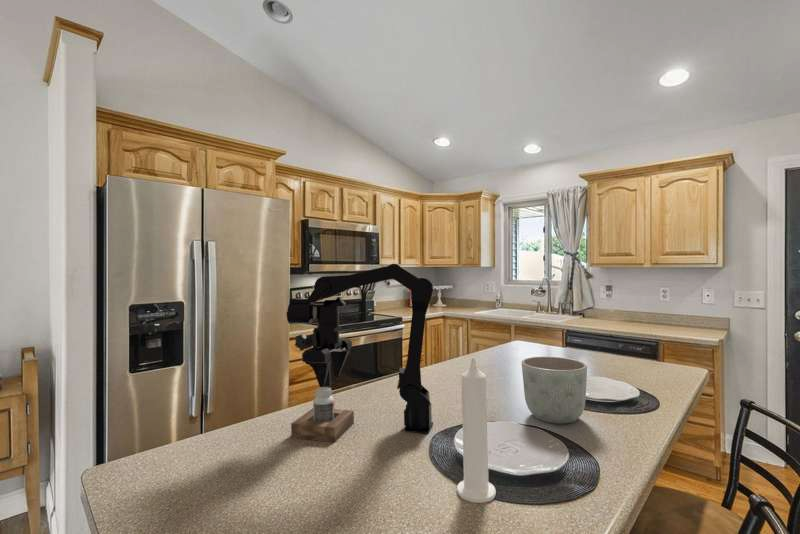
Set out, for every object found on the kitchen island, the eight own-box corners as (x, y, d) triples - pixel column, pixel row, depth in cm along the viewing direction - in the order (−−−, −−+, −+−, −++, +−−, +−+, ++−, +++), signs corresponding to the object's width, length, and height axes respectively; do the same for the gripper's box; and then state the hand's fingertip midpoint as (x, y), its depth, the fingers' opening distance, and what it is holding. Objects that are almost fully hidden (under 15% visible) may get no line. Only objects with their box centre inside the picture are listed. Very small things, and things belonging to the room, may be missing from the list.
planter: (511, 419, 109) (510, 364, 109) (537, 403, 121) (536, 353, 121) (575, 436, 97) (574, 374, 97) (597, 416, 109) (595, 361, 110)
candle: (453, 483, 77) (450, 354, 77) (488, 481, 77) (486, 353, 77) (462, 504, 70) (459, 362, 70) (501, 502, 70) (498, 361, 70)
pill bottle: (337, 427, 103) (337, 389, 103) (318, 432, 100) (317, 393, 100) (329, 420, 107) (328, 384, 107) (310, 425, 104) (309, 388, 104)
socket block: (353, 423, 108) (353, 410, 108) (335, 442, 96) (334, 427, 96) (314, 419, 111) (313, 407, 111) (291, 437, 99) (291, 423, 99)
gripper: (316, 318, 116) (317, 371, 116) (282, 327, 98) (283, 390, 98) (351, 318, 113) (353, 373, 113) (323, 328, 95) (324, 393, 95)
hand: (329, 381), depth 105 cm, fingers open, 9 cm apart
